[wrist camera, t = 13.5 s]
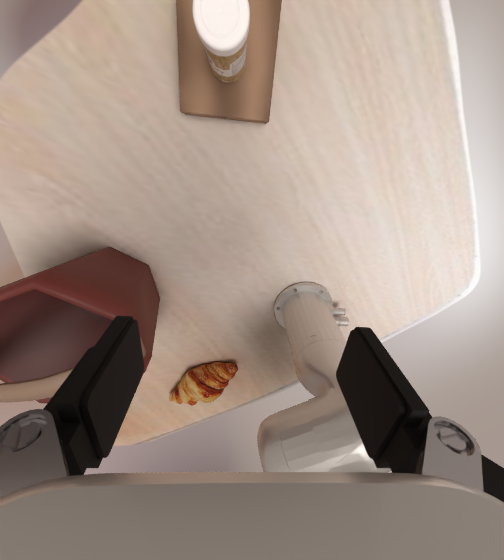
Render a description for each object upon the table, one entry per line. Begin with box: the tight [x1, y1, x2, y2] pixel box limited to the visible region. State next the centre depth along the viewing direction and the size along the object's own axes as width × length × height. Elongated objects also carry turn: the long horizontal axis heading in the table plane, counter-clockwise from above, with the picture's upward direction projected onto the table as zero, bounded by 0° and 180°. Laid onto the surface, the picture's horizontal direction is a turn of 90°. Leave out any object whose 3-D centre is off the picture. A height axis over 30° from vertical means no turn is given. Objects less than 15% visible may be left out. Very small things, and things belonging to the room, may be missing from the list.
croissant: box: [169, 362, 238, 405], centre depth 62 cm, size 21×10×8 cm, turn 125°
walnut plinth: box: [176, 0, 282, 124], centre depth 33 cm, size 12×12×4 cm
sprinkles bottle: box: [192, 0, 250, 83], centre depth 25 cm, size 5×5×14 cm
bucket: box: [0, 247, 160, 403], centre depth 39 cm, size 24×22×25 cm
